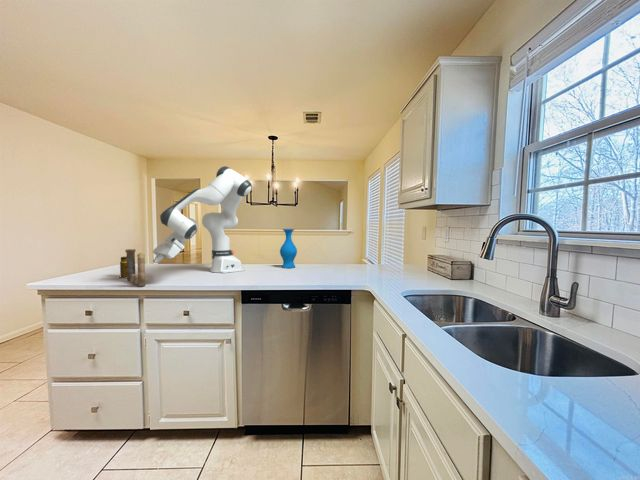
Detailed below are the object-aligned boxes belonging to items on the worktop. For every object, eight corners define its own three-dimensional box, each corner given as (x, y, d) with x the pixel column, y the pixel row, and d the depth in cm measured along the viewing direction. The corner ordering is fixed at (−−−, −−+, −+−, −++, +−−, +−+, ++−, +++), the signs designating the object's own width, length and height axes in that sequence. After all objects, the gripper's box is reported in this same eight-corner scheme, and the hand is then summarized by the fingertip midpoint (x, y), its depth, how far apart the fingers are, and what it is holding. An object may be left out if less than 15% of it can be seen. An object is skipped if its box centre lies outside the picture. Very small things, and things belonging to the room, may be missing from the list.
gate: (127, 280, 155) (126, 250, 154) (133, 279, 157) (132, 249, 156) (139, 286, 141) (138, 253, 140) (146, 285, 143) (145, 252, 142)
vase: (276, 267, 208) (276, 229, 206) (290, 265, 216) (290, 228, 214) (286, 269, 199) (286, 229, 197) (300, 267, 207) (300, 229, 205)
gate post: (136, 279, 161) (135, 249, 160) (136, 280, 157) (135, 249, 156) (127, 279, 159) (126, 249, 158) (126, 281, 155) (125, 250, 154)
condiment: (133, 277, 167) (132, 257, 166) (115, 278, 162) (115, 258, 162) (133, 275, 173) (132, 255, 172) (116, 276, 168) (115, 256, 168)
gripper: (161, 237, 160) (142, 256, 153) (177, 239, 147) (157, 260, 140) (170, 245, 164) (152, 263, 157) (186, 247, 151) (167, 268, 144)
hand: (154, 262), depth 149 cm, fingers closed
